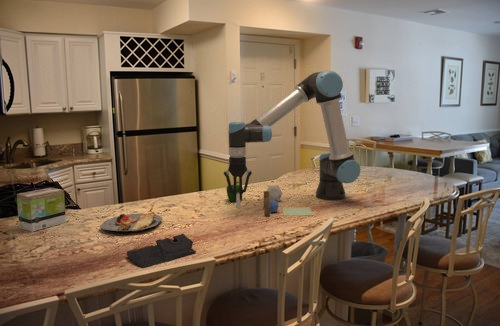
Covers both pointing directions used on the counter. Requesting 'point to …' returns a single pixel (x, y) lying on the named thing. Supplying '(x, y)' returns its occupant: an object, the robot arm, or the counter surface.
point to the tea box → (41, 209)
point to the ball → (273, 206)
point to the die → (274, 193)
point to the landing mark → (297, 211)
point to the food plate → (131, 222)
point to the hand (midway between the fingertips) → (238, 207)
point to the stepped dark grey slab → (162, 251)
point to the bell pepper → (231, 195)
